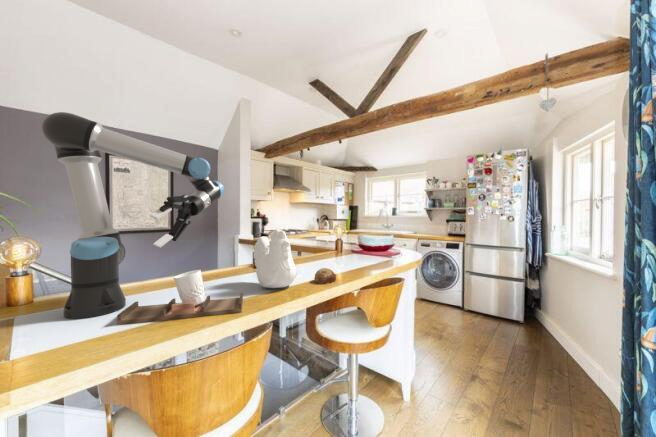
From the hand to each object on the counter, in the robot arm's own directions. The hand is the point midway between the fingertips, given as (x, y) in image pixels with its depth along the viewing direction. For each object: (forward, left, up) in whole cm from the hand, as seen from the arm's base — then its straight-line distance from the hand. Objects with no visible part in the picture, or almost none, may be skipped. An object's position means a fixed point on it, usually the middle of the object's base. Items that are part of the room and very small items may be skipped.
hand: (154, 232), depth 91 cm
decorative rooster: (+41, +14, -25) cm, 50 cm away
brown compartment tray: (+12, -11, -25) cm, 30 cm away
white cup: (+14, -10, -23) cm, 29 cm away
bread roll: (+65, +14, -25) cm, 71 cm away
